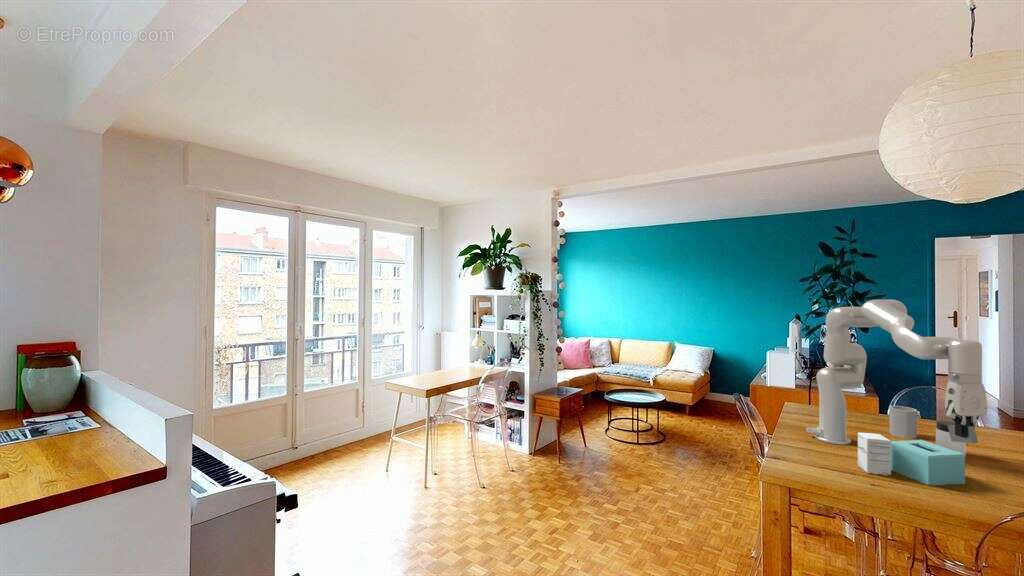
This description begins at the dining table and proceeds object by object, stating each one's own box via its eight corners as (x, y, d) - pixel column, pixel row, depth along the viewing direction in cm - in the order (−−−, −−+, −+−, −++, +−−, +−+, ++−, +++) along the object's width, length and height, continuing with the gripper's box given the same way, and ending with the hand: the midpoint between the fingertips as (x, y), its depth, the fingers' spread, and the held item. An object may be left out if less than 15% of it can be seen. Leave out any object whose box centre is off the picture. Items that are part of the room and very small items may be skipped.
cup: (888, 430, 203) (888, 404, 203) (915, 434, 198) (915, 407, 198) (891, 435, 196) (891, 409, 196) (918, 439, 191) (918, 412, 191)
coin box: (928, 485, 146) (928, 455, 146) (887, 468, 160) (887, 441, 160) (965, 483, 148) (965, 454, 148) (922, 466, 161) (922, 439, 161)
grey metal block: (972, 443, 136) (967, 426, 137) (951, 441, 142) (947, 425, 143) (978, 443, 136) (973, 426, 138) (957, 441, 142) (953, 425, 143)
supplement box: (857, 465, 163) (857, 431, 163) (880, 468, 160) (880, 433, 160) (866, 473, 155) (866, 438, 156) (891, 476, 153) (891, 440, 153)
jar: (962, 459, 169) (962, 428, 169) (933, 452, 175) (933, 423, 175) (968, 454, 173) (968, 424, 173) (940, 448, 180) (940, 419, 180)
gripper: (956, 381, 135) (955, 441, 135) (1000, 380, 136) (1000, 439, 136) (930, 376, 142) (930, 433, 142) (972, 376, 144) (972, 431, 144)
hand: (964, 435), depth 139 cm, fingers closed on grey metal block, 1 cm apart
